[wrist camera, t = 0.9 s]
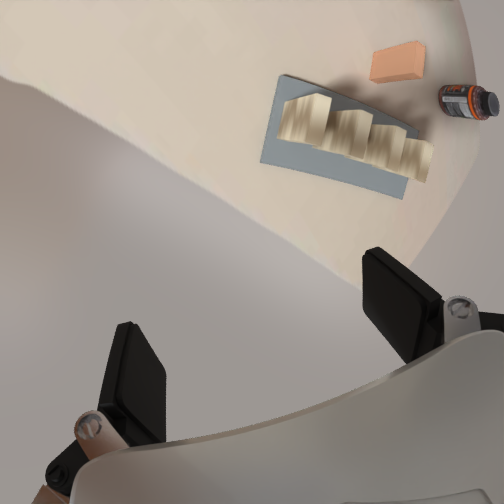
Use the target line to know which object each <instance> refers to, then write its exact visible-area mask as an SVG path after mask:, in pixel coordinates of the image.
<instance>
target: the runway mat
mask: <svg viewBox="0 0 504 504" xmlns="http://www.w3.org/2000/svg"><path fill="white" fill-rule="evenodd" d="M315 93H318V94H321V95H324V96H327V97H330V98H332V100H331V105H330V109H329V112H331V111H344V110H363V111H366V112H368V113H370V114H373V118H372V123H371V124H377V125H393V126H398V127H400V128H402V129H404V130H406V131H407V133H406V138H411V139H417V138H418V133H419V131H418V130H416V129H414V128H413V127H411V126H409V125H407V124H405V123H403V122H401V121H399V120H397V119H395V118H393V117H391V116H389V115H387V114H385V113H383V112H380V111H378V110H376V109H374V108H372V107H369V106H367V105H365V104H363V103H360V102H358V101H355V100H353V99H350V98H348V97H345V96H343V95H340V94H338V93H335V92H332V91H330V90H327V89H324V88H321V87H318V86H315V85H312V84H309V83H306V82H303V81H300V80H297V79H294V78H290V77H287V76H283V75H280V76H279V79H278V83H277V88H276V92H275V96H274V101H273V105H272V110H271V114H270V119H269V123H268V128H267V132H266V137H265V141H264V146H263V150H262V155H261V159H260V163H264V164H269V165H274V166H278V167H283V168H288V169H292V170H296V171H301V172H305V173H309V174H313V175H317V176H321V177H325V178H329V179H333V180H337V181H341V182H344V183H348V184H352V185H355V186H359V187H362V188H366V189H369V190H373V191H376V192H379V193H382V194H386V195H389V196H392V197H395V198H398V199H401V200H402V199H403V195H404V192H405V188H406V184H407V181H408V177H405V176H401V175H398V174H395V173H392V172H388V171H385V170H382V169H378V168H376V167H373V166H372V165H371V164H367V163H363V162H359V161H355V160H352V159H349V158H346V157H344V156H345V155H342V154H337V153H332V152H327V151H322V150H319V149H315V148H312V147H313V145H311V144H304V143H296V142H289V141H285V140H280V139H277V134H278V130H279V125H280V121H281V117H282V112H283V108H284V103H285V102H286V101H290V100H293V99H297V98H300V97H304V96H308V95H311V94H315Z"/></svg>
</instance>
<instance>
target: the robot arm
mask: <svg viewBox="0 0 504 504" xmlns="http://www.w3.org/2000/svg"><path fill="white" fill-rule="evenodd" d="M362 274H363V310H364V312H365V314H366V315H367V317H368V318H369V319H370V320H371V321H372V323H373V324H374V325H375V326H376V327H377V329H378V330H379V331H380V332H381V333H382V335H383V336H384V337H385V338H386V340H387V341H388V342H389V343H390V345H391V346H392V347H393V348H394V349H395V351H396V352H397V353H398V355H399V356H400V357H401V358H402V359H403V361H404V362H405V363H406V365H405V366H402V367H401V368H399V369H397V370H395V371H393V372H391V373H389V374H387V375H385V376H383V377H381V378H379V379H376V380H374V381H372V382H370V383H368V384H366V385H363V386H361V387H359V388H357V389H354V390H352V391H350V392H347V393H345V394H342V395H340V396H338V397H335V398H333V399H330V400H327V401H325V402H322V403H320V404H317V405H314V406H311V407H308V408H306V409H303V410H300V411H297V412H294V413H291V414H288V415H285V416H281V417H278V418H275V419H271V420H268V421H265V422H261V423H258V424H254V425H250V426H246V427H242V428H239V429H234V430H230V431H225V432H221V433H217V434H211V435H206V436H201V437H195V438H189V439H185V440H178V441H172V442H166V372H165V369H164V367H163V365H162V364H161V362H160V361H159V359H158V357H157V356H156V354H155V353H154V351H153V349H152V348H151V346H150V344H149V343H148V341H147V339H146V338H145V336H144V335H143V333H142V331H141V330H140V328H139V326H138V325H137V324H133V323H132V322H131V321H130V322H126V323H122V324H119V325H118V326H117V328H116V332H115V336H114V339H113V343H112V347H111V350H110V355H109V358H108V362H107V366H106V371H105V375H104V379H103V384H102V388H101V393H100V398H99V403H98V408H97V411H96V410H91V411H88V412H85V413H84V414H82V415H81V416H80V417H79V418H78V420H77V421H76V423H75V427H74V434H75V437H76V440H75V441H74V442H73V443H72V444H71V445H69V447H67V448H66V449H65V450H64V451H63V452H62V453H61V454H60V455H59V456H58V457H56V458H55V459H54V460H53V461H52V462H51V463H50V464H49V465H48V467H47V469H46V474H45V478H46V482H47V485H46V486H45V485H42V487H41V488H40V490H39V492H38V494H37V495H36V497H35V498H34V501H33V502H32V504H504V314H496V313H487V312H478V308H477V305H476V304H475V303H474V301H472V300H471V299H469V298H467V297H465V296H453V297H450V298H448V299H447V300H446V301H444V300H442V299H441V298H442V296H441V295H440V294H439V293H438V292H436V291H435V290H434V289H433V288H432V287H430V286H429V285H428V284H427V283H425V282H424V281H423V280H422V279H420V278H419V277H418V276H417V275H415V274H414V273H413V272H412V271H410V270H409V269H408V268H407V267H405V266H404V265H403V264H401V263H400V262H399V261H398V260H396V259H395V258H394V257H392V256H391V255H390V254H388V253H387V252H386V251H384V250H383V249H382V248H380V247H375V248H372V249H369V250H367V251H366V252H365V255H363V257H362Z"/></svg>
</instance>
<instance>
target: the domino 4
mask: <svg viewBox="0 0 504 504" xmlns="http://www.w3.org/2000/svg"><path fill="white" fill-rule="evenodd" d="M406 133H407V131H406V130H404V129H402V128H400V127H398V126H393V125H377V124H371V128H370V132H369V137H368V141H367V146H366V150H365V154H364V158H363V159H359V158H355V157H351V156H346V155H345V156H344V157H346V158H349V159H352V160H355V161H359V162H363V163H367V164H371V165H375V166H378V167H382V168H386V169H389V170H392V171H396V172H398V168H399V164H400V160H401V156H402V151H403V147H404V142H405V138H406Z"/></svg>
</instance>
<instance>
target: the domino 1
mask: <svg viewBox="0 0 504 504" xmlns="http://www.w3.org/2000/svg"><path fill="white" fill-rule="evenodd" d="M331 100H332V98H330V97H327V96H324V95H321V94H318V93H315V94H311V95H308V96H304V97H300V98H297V99H293V100H290V101H286V102H285V103H284V108H283V112H282V117H281V121H280V125H279V130H278V134H277V139H280V140H285V141H289V142H296V143H304V144H311V145H317V146H321V145H322V141H323V136H324V132H325V127H326V123H327V118H328V114H329V109H330V105H331Z"/></svg>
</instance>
